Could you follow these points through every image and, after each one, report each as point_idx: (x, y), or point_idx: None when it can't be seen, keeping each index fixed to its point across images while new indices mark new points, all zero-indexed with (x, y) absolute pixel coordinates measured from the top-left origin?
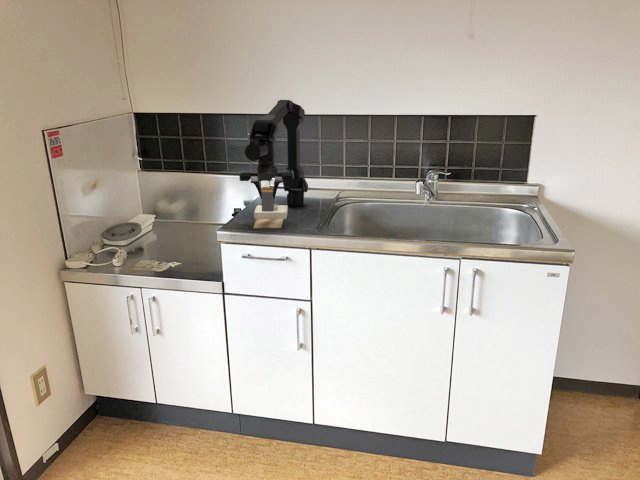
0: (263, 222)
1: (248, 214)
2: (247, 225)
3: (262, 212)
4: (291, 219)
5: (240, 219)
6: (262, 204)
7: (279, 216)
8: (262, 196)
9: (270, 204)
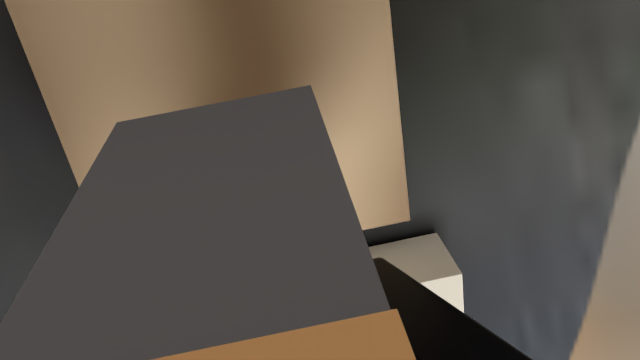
0: None
1: None
2: (472, 25)
3: None
4: None
5: (573, 208)
6: (311, 131)
7: None
8: (332, 224)
9: (137, 166)
